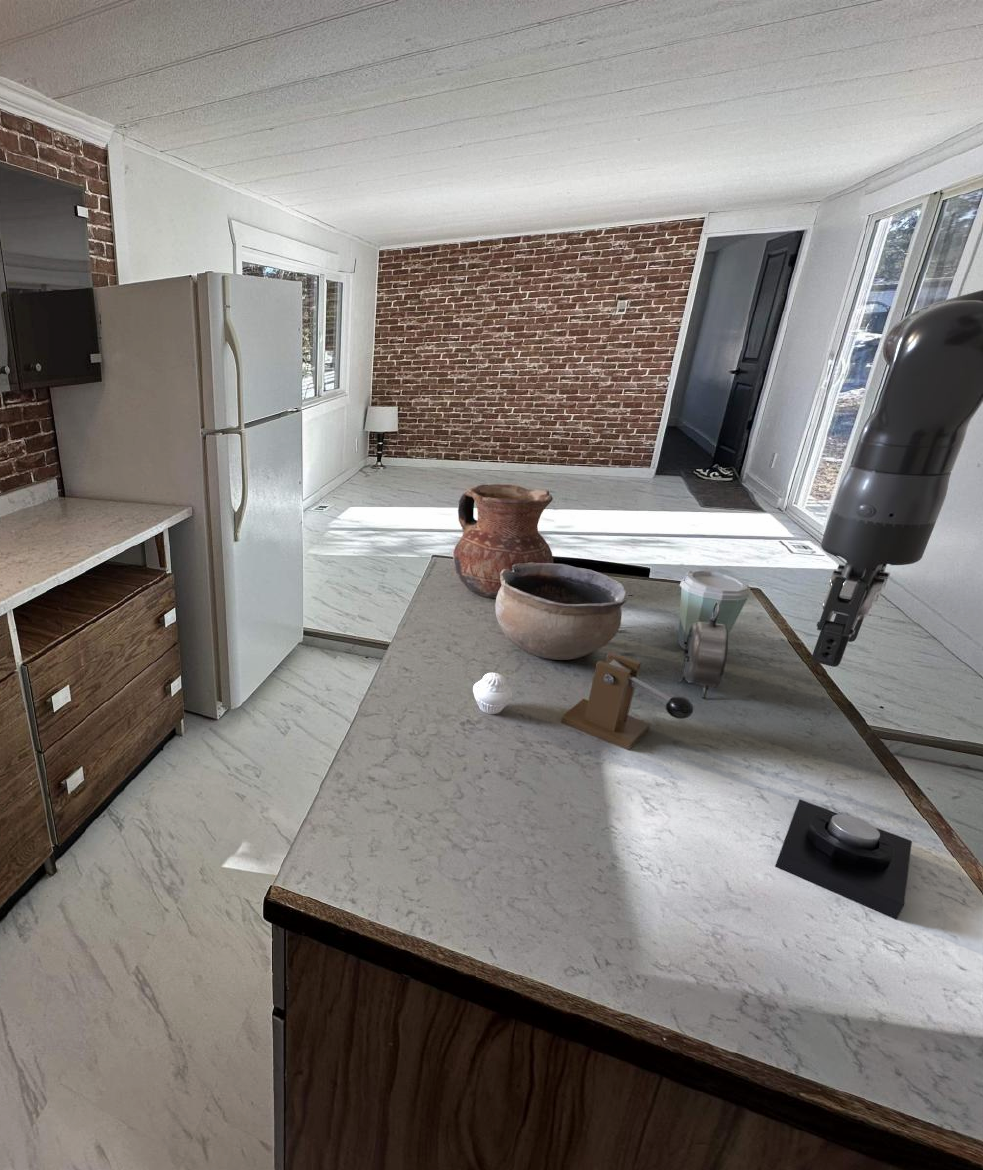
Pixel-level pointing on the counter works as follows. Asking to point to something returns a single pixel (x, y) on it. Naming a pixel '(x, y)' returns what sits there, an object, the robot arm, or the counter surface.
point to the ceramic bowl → (558, 609)
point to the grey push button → (853, 831)
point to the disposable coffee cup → (710, 599)
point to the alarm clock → (706, 653)
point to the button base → (846, 861)
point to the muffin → (492, 693)
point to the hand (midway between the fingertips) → (833, 650)
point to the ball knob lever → (660, 696)
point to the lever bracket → (609, 705)
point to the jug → (498, 534)
